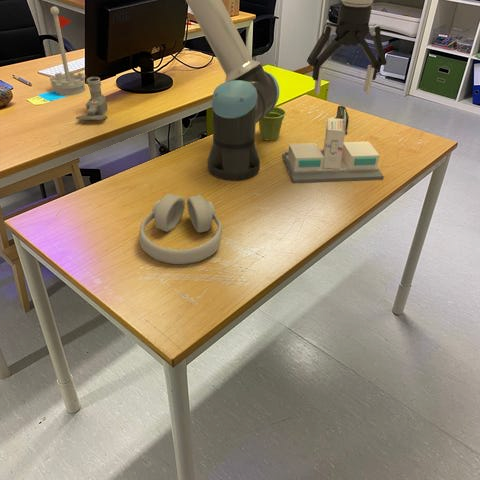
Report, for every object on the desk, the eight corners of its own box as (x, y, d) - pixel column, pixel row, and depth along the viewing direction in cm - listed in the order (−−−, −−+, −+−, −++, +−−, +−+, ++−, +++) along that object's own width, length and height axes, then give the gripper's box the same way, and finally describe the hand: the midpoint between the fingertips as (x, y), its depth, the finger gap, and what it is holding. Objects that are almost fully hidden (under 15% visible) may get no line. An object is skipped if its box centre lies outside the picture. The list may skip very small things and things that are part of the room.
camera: (108, 76, 162) (97, 91, 150) (113, 108, 169) (102, 126, 157) (83, 75, 162) (70, 91, 150) (89, 108, 169) (77, 125, 157)
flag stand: (57, 98, 176) (38, 11, 158) (49, 87, 185) (30, 4, 167) (91, 93, 181) (77, 8, 163) (82, 83, 190) (68, 1, 172)
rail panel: (293, 183, 129) (295, 164, 126) (282, 156, 142) (283, 138, 138) (383, 179, 132) (387, 160, 129) (364, 153, 145) (368, 136, 141)
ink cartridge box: (321, 154, 139) (328, 106, 131) (338, 156, 139) (346, 108, 130) (321, 168, 133) (329, 118, 124) (339, 169, 132) (348, 120, 123)
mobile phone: (336, 104, 165) (342, 120, 153) (345, 104, 165) (352, 120, 153) (334, 117, 168) (340, 134, 156) (343, 118, 168) (349, 134, 156)
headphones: (150, 210, 116) (135, 271, 102) (146, 185, 110) (130, 246, 96) (224, 212, 116) (219, 274, 101) (224, 188, 110) (219, 249, 96)
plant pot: (289, 139, 152) (291, 114, 146) (265, 145, 148) (266, 119, 142) (273, 129, 158) (275, 104, 153) (249, 134, 154) (250, 109, 149)
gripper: (308, 6, 106) (298, 97, 119) (412, 7, 109) (392, 96, 122) (301, 0, 112) (292, 87, 125) (400, 1, 115) (381, 86, 128)
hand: (341, 92), depth 124 cm, fingers open, 13 cm apart
